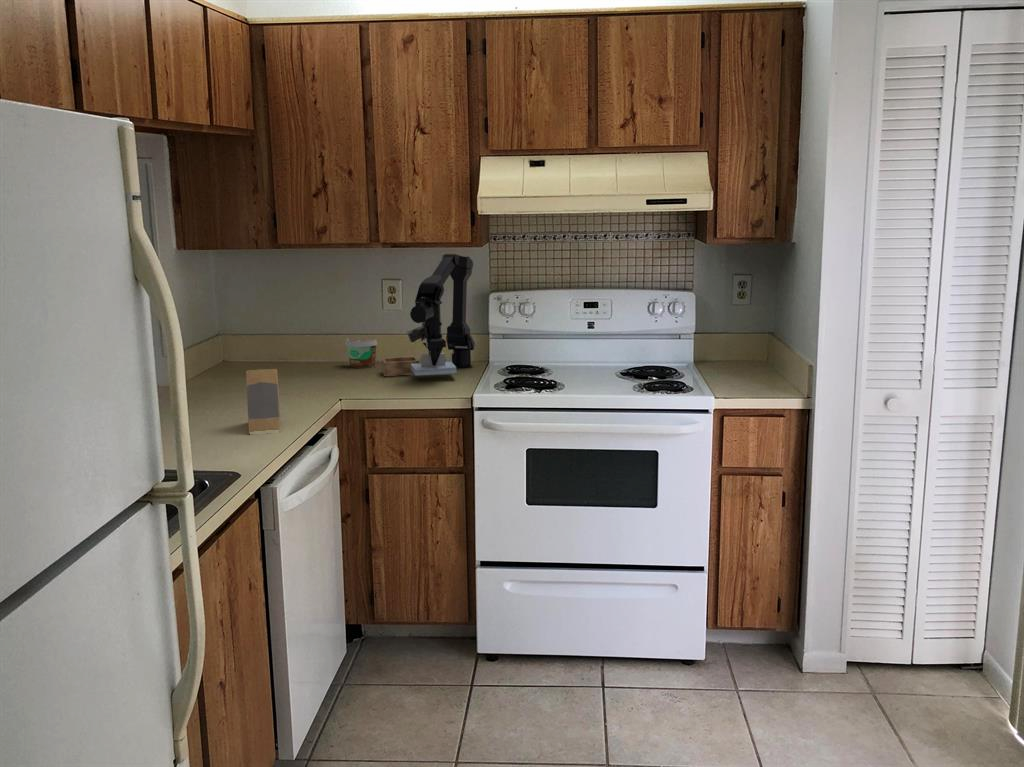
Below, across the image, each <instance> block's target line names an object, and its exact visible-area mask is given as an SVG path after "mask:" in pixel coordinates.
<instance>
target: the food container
mask: <svg viewBox="0 0 1024 767" xmlns="http://www.w3.org/2000/svg"><path fill="white" fill-rule="evenodd" d="M378 344H379V343H378V340H377V339H370V340H366V339H365V340H363V339H359V340H349V338H346V340H345V346H346V347H347V352H348V353H347V354H348V359H349V365H350V367H351V368H353V367H358V368H357V369H360V368H359V367H369V368H371V367H370V366H374V365H375V366H376V356H377V355H376V354H377V346H378ZM375 366H374V367H375Z"/></svg>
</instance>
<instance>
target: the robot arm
mask: <svg viewBox="0 0 1024 767" xmlns="http://www.w3.org/2000/svg"><path fill="white" fill-rule="evenodd" d="M441 257H442V258H441V260H440V262H439V264H438V265H437V267H436V268H435V270H434V271H433V272H432V275H430V276H428V277H426V278H424V279H423V280H422V281H421V283H420V284H419V286H418V290H417V293H416V296H415V301H414V303H415V305H414V306H413V307H412V309H411V310H410V313H409V315H410V318H411V320H412V321H413V322H414V323H416V324H421V326H419V327H415V328H413V329H412V330H408V331H407V332H406V334H407V336H408V339H409V341H410V343H415V342H416V341H418V340H419V339H420V341H421V342H422V344H423V345H424V346H425V348H426V349H427V352H428V353H430V355H431V360H432V365H436V364H437V361H438V358H439V356H440V353H442V351H443V349H444V348H447V350H449V351H450V350H451V351H452V352H451V353H450V361H451V362H452V363H453V364H454V365H455V366H456V369H459V368H471V367H473V366H472V365H473V364H472V361H471V360H472V359H471V358H472V356H471V351H475V348H476V346H475V345H476V344H475V343H476V342H475V340H474V338H473V337H472V335H471V328H470V326H469V325H468V323H467V295H468V294H467V292H468V291H467V289H468V288H467V286H468V280H469V279H470V278H471V276H472V273H473V268H474V261H473V260H472V259H471V257H470V256H467V255H465V256H464V255H459V254H457V253H445V254H443V255H442V256H441ZM449 276H450V278H451V279H452V282H453V283H452V284H453V288H452V318H451V320H452V321H451V323H450V325H448V326H447V327H446V337H445V339H446V340H445V339H444V338H443V334H442V324H443V323H442V320H441V319H442V317H441V305H442V304H443V302H442V300H441V299H442V297H443V295H444V293H445V287H444V285H445V283H446V281H447V280H448V278H449ZM423 341H424V342H423Z"/></svg>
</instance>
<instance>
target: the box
mask: <svg viewBox="0 0 1024 767" xmlns="http://www.w3.org/2000/svg"><path fill="white" fill-rule="evenodd" d="M415 363H420V360H419V359H418V358H417V356H414V355H413V356H401V357H400V356H399V357H382V358H381V373H382V372H383V373H382V375H383V374H384V375H383V376H394V375H410V376H415V375H414V373H413V372H412V370H411V364H415ZM394 377H395V376H394Z"/></svg>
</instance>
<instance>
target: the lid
mask: <svg viewBox="0 0 1024 767" xmlns="http://www.w3.org/2000/svg"><path fill="white" fill-rule="evenodd" d="M457 369H458V368H456V366H455V365H454V364H453V363H452V362H451V360H450V361H446V352H441V353H440V356H439V358H438V361H437V364H436V365H432V360H431V355H430V353H429V352H428V353H420V362H419V363H415V364H411V370H412V372H413V373H414V375H413V376H428V375H447V374H448V375H449V374H458V373H457Z"/></svg>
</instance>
